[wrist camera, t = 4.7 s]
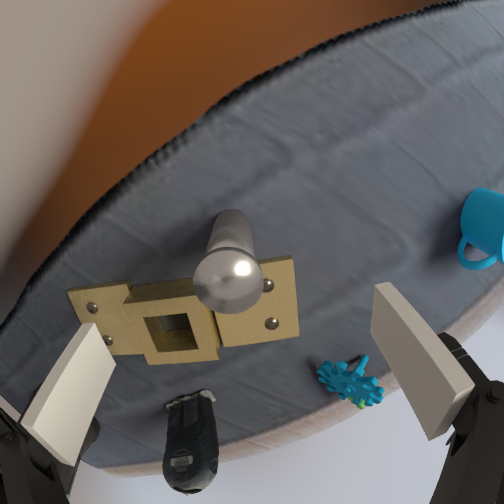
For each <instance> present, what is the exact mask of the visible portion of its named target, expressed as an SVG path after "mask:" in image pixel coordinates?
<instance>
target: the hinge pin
mask: <svg viewBox="0 0 504 504" xmlns="http://www.w3.org/2000/svg"><path fill="white" fill-rule="evenodd" d="M193 287H194V291H195V294H196V296H197V298H198V299H199V300H200V302H201V303H202V304H203V305H204V306H206V307H207V308H209V309H210V310H212V311H215V312H217V313H221V314H237V313H241V312H244V311H246V310H248V309H249V308H251V307H252V306H253V305H255V303H256V302H257V301H258V300H259V298H260V297H261V295H262V292H263V288H264V279H263V274H262V269H261V267H260V265H259V263H258V261H257V260H256V259H255V254H254V247H253V240H252V234H251V227H250V222H249V219H248V217H247V216H246V215H245V214H244V213H243V212H241V211H239V210H236V209H228V210H225V211H223V212H221V213H220V214H219V215H218V216H217V217H216V219H215V222H214V225H213V228H212V232H211V235H210V239H209V242H208V246H207V249H206V253H205V255H204V256H203V257H202V259H201V260H200V261H199V263H198V265H197V267H196V270H195V273H194V277H193Z"/></svg>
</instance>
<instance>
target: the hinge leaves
mask: <svg viewBox="0 0 504 504" xmlns="http://www.w3.org/2000/svg"><path fill="white" fill-rule="evenodd" d="M258 263H259V265H260V267H261V269H262V274H263V279H264V288H263V292H262V295H261V297H260V298H259V300H258V301H257V302H256V303H255V305H253V306H252V307H251V308H249V309H248V310H246V311H244V312H241V313H237V314H221V313H217V312H215V311H212V310H210V309H209V308H207V307H206V306H204V305H203V304H202V303H201V302H200V300H199V299H198V298H197V296H196V294H195V291H194V287H193V278H186V279H179V280H172V281H165V282H158V283H151V284H144V285H137V286H133V288H132V286H131V283H130V280H126V281H119V282H112V283H105V284H98V285H91V286H84V287H76V288H70V289H69V290H68V292H67V293H68V296H69V298H70V300H71V303H72V305H73V307H74V309H75V312H76V314H77V316H78V318H79V320H80V322H81V324H83V323H95V325H96V327H97V329H98V331H99V333H100V335H101V337H102V339H103V341H104V343H105V345H106V347H107V349H108V350H109V352H110V354H111V355H129V354H144V356H145V358H146V360H147V362H148V364H149V365H154V364H173V363H187V362H200V361H210V360H219V352H220V335H221V338H222V342H223V345H224V347H230V346H238V345H246V344H253V343H260V342H266V341H273V340H279V339H285V338H291V337H296V336H299V324H298V311H297V299H296V288H295V277H294V266H293V258H292V256H291V255H290V256H283V257H277V258H271V259H265V260H258ZM214 312H215V315H214ZM180 313H187V315H188V318H189V321H190V324H191V327H192V329H183V330H173V331H164V328H163V325H162V323H161V320H160V317H159V316H162V315H172V314H180ZM215 316H216V319H215ZM216 320H217V323H218V326H217V323H216ZM218 327H219V330H218ZM219 331H220V334H219Z"/></svg>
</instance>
